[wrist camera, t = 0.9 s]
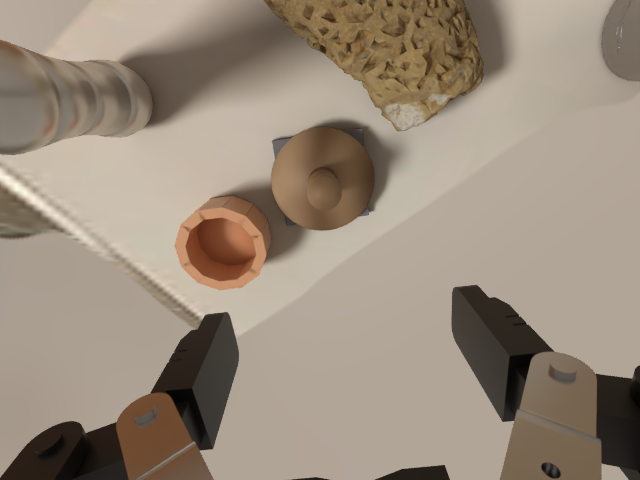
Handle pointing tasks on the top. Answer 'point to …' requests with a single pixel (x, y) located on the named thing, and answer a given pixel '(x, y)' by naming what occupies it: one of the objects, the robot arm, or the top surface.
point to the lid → (322, 178)
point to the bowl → (224, 243)
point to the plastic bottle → (66, 99)
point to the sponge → (394, 49)
